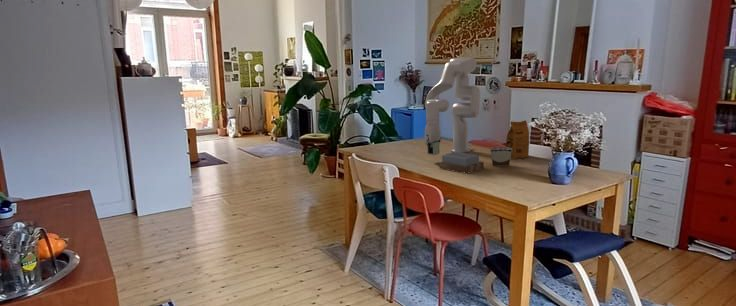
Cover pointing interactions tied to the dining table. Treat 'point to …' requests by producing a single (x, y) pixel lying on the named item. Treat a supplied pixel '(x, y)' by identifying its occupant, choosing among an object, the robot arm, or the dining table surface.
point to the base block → (462, 167)
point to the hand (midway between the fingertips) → (433, 152)
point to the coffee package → (518, 139)
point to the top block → (460, 158)
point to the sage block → (435, 148)
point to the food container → (501, 156)
